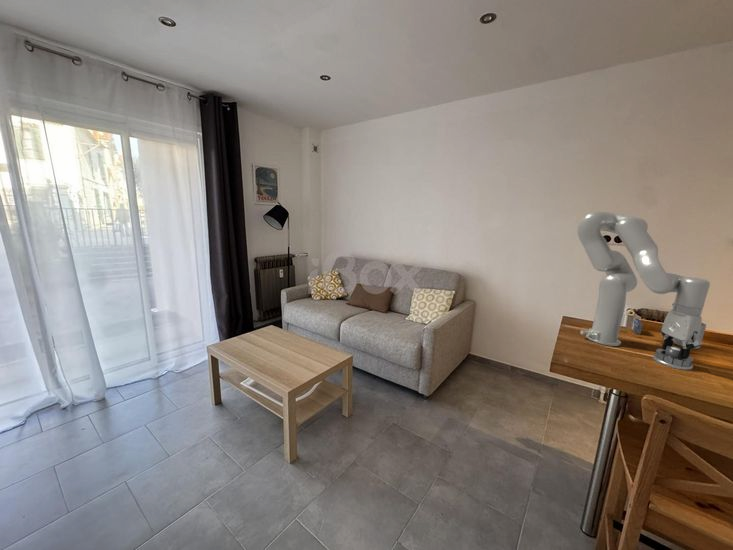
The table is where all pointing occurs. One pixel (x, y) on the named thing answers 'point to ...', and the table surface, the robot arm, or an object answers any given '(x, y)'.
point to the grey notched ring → (673, 360)
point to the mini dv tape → (636, 326)
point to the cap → (673, 351)
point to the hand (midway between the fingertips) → (674, 353)
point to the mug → (679, 342)
